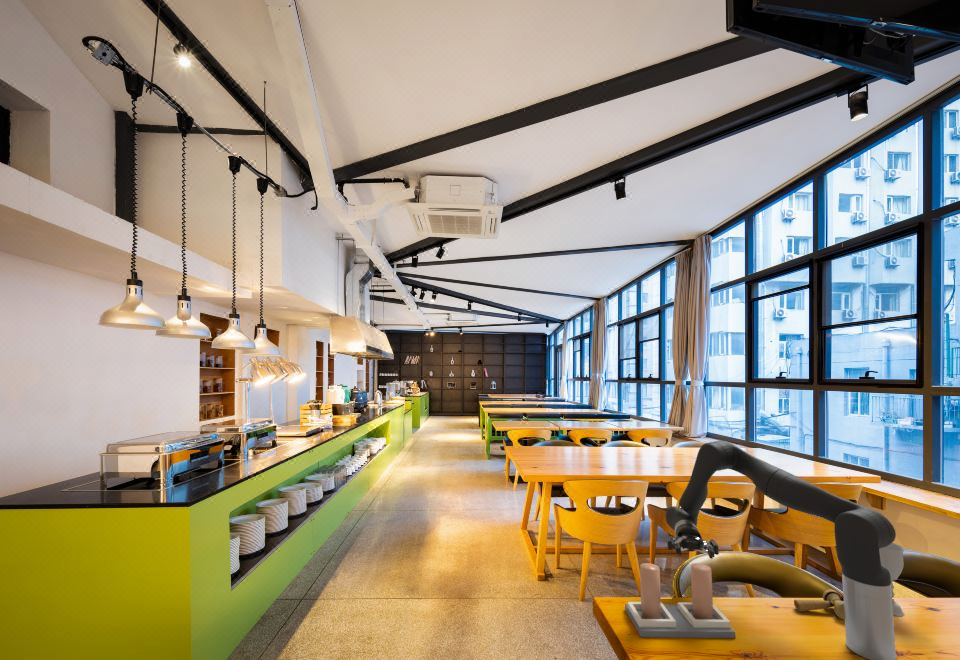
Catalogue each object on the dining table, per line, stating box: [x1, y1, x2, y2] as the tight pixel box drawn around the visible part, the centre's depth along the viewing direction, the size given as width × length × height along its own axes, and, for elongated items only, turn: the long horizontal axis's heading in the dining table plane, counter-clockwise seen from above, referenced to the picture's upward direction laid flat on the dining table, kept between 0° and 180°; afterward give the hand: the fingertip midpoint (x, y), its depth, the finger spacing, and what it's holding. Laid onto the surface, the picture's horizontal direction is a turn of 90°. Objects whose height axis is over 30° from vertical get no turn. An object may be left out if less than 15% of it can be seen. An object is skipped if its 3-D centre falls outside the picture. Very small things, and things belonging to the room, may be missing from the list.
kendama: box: [793, 589, 845, 620], centre depth 127 cm, size 8×6×18 cm
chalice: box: [879, 542, 906, 617], centre depth 129 cm, size 7×7×18 cm
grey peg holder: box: [624, 562, 736, 639], centre depth 122 cm, size 24×13×14 cm, turn 90°
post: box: [690, 562, 714, 619], centre depth 122 cm, size 5×5×13 cm
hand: (695, 553), depth 134 cm, fingers open, 8 cm apart
